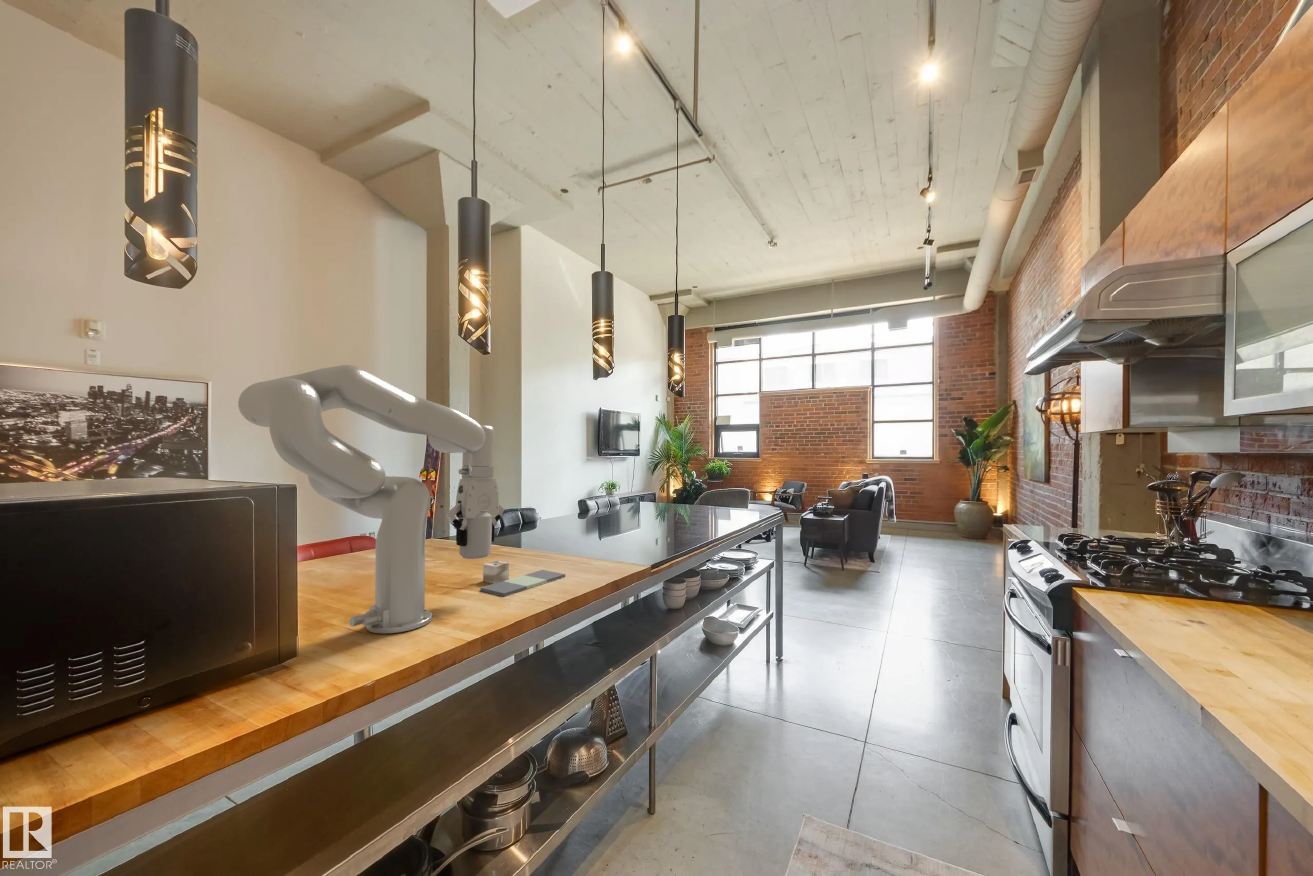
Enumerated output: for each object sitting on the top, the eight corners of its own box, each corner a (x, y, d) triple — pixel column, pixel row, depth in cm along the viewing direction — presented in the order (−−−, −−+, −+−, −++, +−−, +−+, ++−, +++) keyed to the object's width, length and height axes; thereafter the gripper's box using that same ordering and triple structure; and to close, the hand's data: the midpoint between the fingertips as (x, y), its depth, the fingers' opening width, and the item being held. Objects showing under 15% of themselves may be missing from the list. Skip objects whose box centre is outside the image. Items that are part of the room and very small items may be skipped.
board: (504, 596, 123) (504, 593, 123) (480, 590, 128) (480, 587, 128) (565, 576, 142) (565, 574, 142) (542, 572, 147) (542, 569, 147)
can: (484, 559, 117) (485, 510, 118) (453, 559, 118) (455, 509, 118) (495, 554, 125) (496, 507, 126) (466, 553, 125) (468, 507, 126)
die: (494, 584, 135) (494, 566, 135) (483, 581, 137) (483, 563, 138) (508, 580, 139) (508, 562, 139) (497, 577, 142) (497, 560, 142)
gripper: (456, 474, 113) (454, 550, 112) (514, 473, 128) (512, 540, 127) (437, 473, 117) (435, 546, 116) (495, 472, 132) (493, 537, 131)
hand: (475, 542), depth 121 cm, fingers closed on can, 7 cm apart
